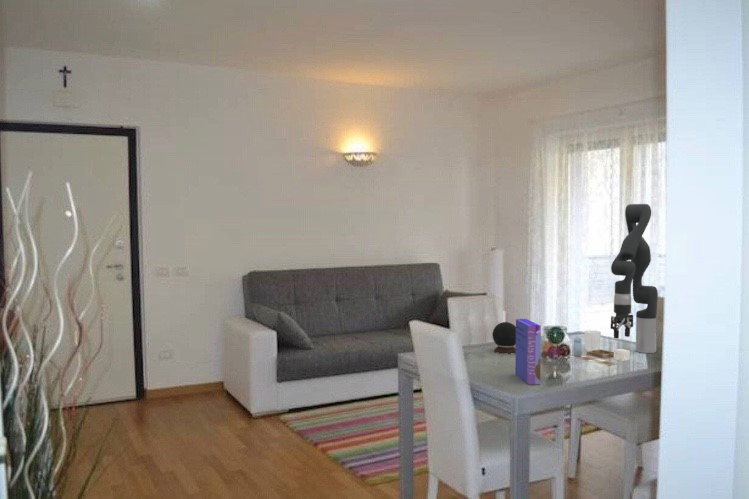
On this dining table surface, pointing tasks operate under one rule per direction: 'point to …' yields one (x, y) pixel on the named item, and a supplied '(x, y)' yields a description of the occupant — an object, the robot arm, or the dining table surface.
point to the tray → (606, 353)
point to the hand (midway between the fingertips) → (621, 337)
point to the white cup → (592, 340)
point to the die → (622, 354)
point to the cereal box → (528, 351)
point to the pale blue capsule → (577, 347)
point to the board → (595, 360)
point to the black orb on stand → (505, 337)
